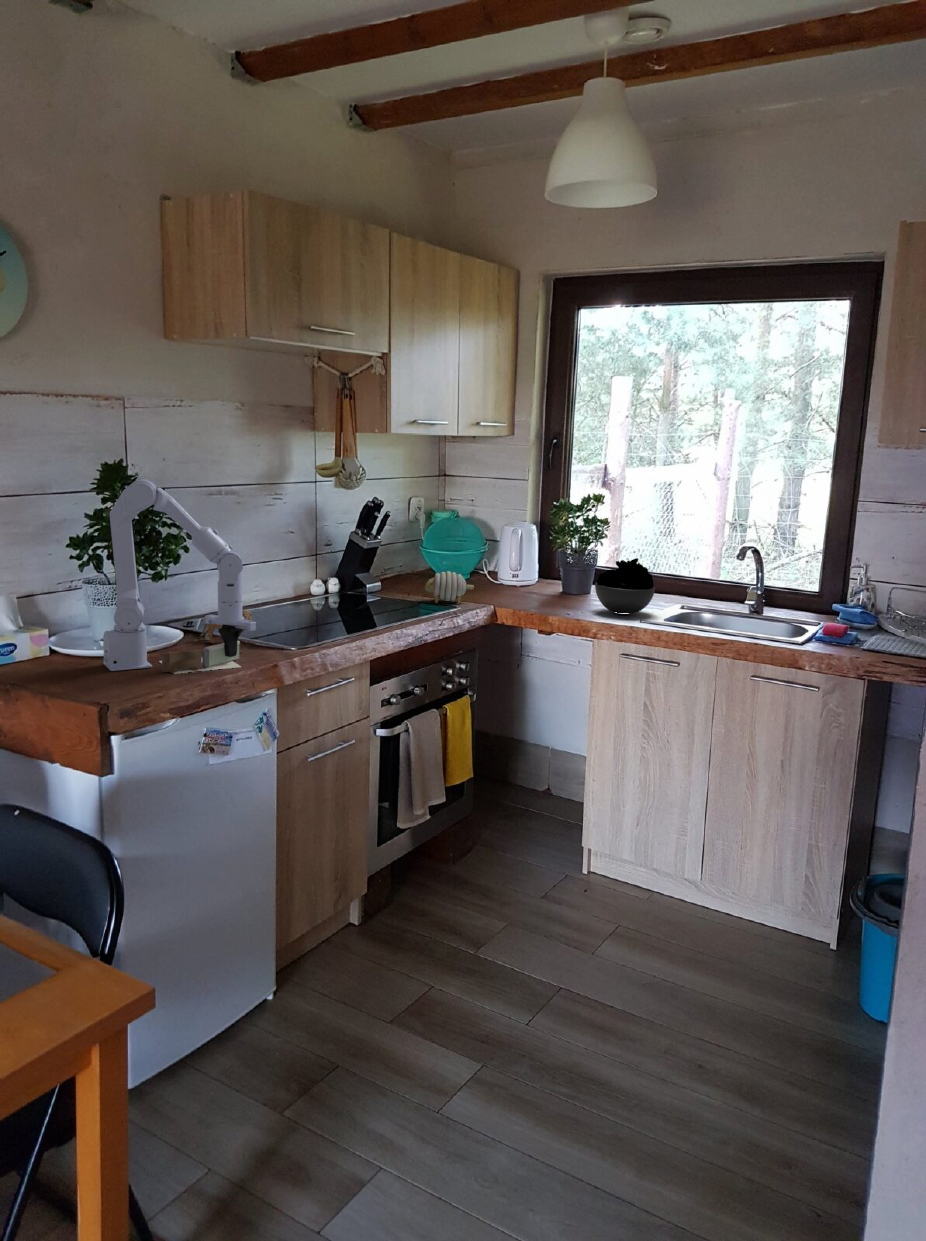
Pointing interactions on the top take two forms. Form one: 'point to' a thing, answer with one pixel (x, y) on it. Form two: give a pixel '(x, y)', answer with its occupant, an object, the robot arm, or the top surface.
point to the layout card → (210, 667)
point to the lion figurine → (212, 627)
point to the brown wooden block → (181, 660)
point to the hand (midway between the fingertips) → (230, 655)
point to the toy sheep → (447, 586)
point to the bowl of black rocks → (625, 587)
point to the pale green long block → (216, 655)
